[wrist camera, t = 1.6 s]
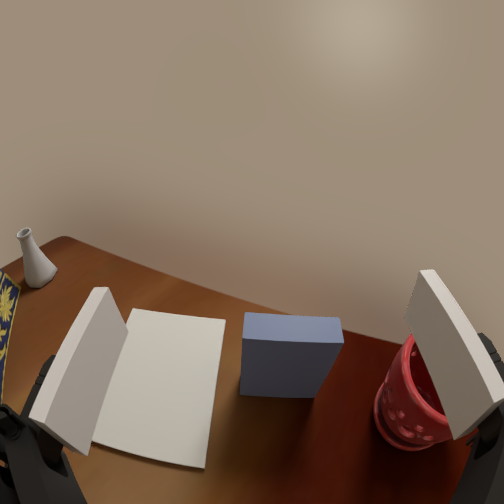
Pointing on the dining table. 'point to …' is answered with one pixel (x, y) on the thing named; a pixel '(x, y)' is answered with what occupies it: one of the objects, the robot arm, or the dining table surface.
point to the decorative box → (6, 318)
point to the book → (287, 354)
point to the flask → (34, 261)
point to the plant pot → (410, 403)
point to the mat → (163, 388)
